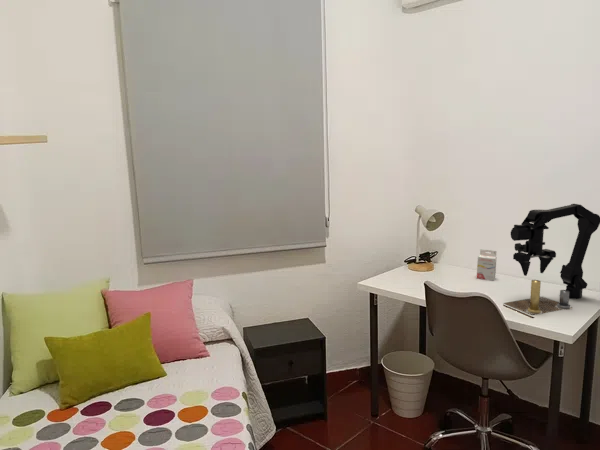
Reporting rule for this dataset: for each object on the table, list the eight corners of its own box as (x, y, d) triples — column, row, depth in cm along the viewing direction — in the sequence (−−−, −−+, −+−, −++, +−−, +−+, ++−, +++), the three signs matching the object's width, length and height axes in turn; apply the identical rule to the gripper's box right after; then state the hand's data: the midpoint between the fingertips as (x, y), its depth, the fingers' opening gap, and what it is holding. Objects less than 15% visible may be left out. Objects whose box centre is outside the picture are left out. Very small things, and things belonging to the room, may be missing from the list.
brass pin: (529, 308, 204) (531, 278, 202) (541, 310, 201) (543, 280, 199) (526, 311, 201) (528, 281, 198) (538, 314, 198) (540, 283, 195)
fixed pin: (563, 304, 208) (564, 288, 207) (572, 308, 204) (574, 292, 202) (554, 306, 206) (555, 290, 205) (564, 309, 202) (565, 293, 201)
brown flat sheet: (542, 299, 219) (542, 296, 219) (575, 311, 203) (575, 308, 203) (503, 305, 212) (503, 303, 212) (534, 319, 196) (534, 316, 196)
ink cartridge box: (476, 278, 253) (477, 250, 250) (478, 276, 257) (479, 248, 254) (493, 280, 248) (495, 252, 246) (495, 278, 252) (497, 250, 250)
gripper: (537, 234, 220) (535, 267, 223) (504, 237, 214) (502, 272, 217) (558, 238, 210) (555, 273, 213) (524, 242, 204) (522, 278, 206)
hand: (533, 274), depth 212 cm, fingers open, 9 cm apart
